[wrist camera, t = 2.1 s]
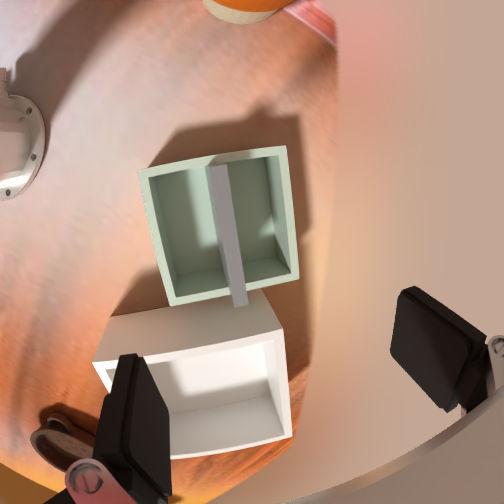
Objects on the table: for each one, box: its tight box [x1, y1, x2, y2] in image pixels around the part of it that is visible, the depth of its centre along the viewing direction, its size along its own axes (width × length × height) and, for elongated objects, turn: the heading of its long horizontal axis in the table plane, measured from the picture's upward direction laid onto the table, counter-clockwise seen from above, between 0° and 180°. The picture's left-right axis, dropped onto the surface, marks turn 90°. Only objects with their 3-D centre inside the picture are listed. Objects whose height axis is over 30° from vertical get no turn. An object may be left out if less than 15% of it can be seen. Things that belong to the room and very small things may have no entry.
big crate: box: [92, 288, 292, 459], centre depth 32 cm, size 19×19×9 cm
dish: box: [30, 412, 96, 473], centre depth 36 cm, size 18×22×5 cm
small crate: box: [138, 145, 300, 308], centre depth 27 cm, size 13×13×10 cm
